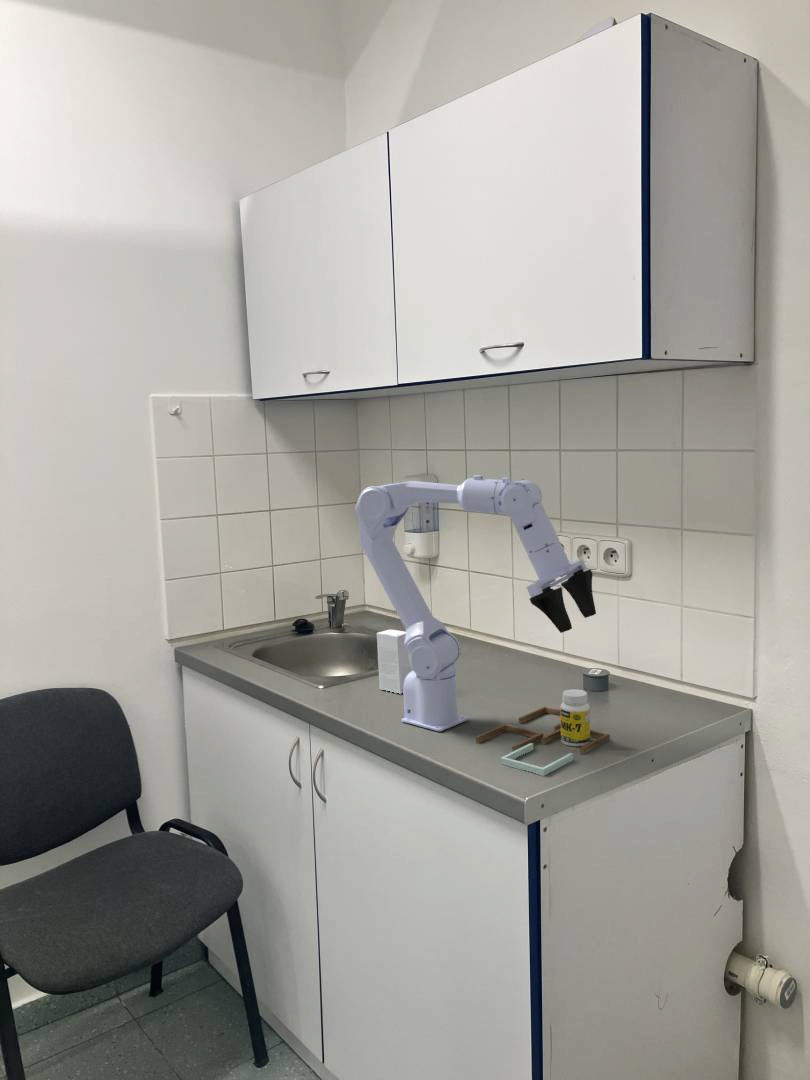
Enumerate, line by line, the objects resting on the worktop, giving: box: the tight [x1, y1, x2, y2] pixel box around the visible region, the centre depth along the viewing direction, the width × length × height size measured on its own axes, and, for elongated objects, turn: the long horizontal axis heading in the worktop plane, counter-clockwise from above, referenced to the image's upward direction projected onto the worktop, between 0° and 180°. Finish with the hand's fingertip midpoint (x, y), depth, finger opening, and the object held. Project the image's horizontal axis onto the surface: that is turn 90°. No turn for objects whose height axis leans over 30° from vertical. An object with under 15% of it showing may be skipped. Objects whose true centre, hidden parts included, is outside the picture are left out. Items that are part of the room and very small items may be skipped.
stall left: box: [518, 705, 561, 731], centre depth 156 cm, size 8×8×1 cm
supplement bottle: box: [559, 688, 591, 747], centre depth 145 cm, size 5×5×8 cm
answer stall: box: [500, 743, 574, 777], centre depth 138 cm, size 8×8×1 cm
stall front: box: [540, 729, 611, 755], centre depth 146 cm, size 8×8×1 cm
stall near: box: [475, 723, 544, 752], centre depth 147 cm, size 8×8×1 cm
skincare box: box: [376, 629, 413, 695], centre depth 179 cm, size 6×4×12 cm
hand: (578, 623), depth 145 cm, fingers open, 7 cm apart
